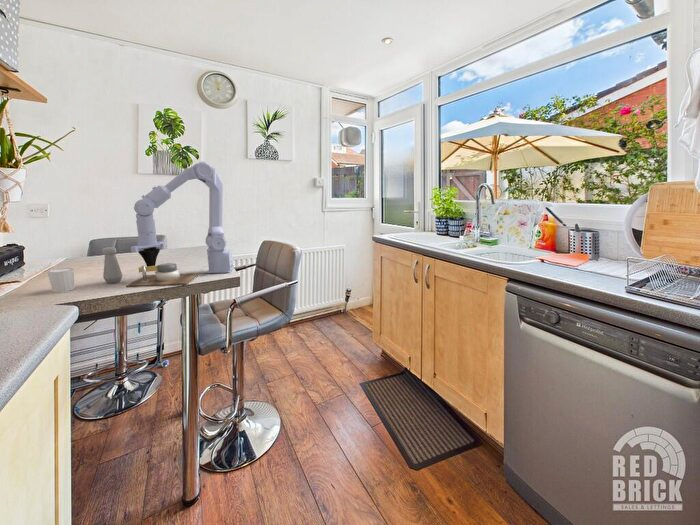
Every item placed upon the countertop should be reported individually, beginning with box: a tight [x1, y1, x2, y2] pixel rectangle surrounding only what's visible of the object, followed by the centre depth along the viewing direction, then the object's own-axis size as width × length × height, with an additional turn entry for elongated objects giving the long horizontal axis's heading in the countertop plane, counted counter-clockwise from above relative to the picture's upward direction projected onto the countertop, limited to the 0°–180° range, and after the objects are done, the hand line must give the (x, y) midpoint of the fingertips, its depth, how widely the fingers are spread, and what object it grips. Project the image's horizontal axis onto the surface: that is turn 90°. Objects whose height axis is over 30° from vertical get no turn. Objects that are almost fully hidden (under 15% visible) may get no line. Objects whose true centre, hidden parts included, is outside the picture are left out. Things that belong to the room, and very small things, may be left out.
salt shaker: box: [101, 246, 123, 284], centre depth 122 cm, size 6×6×13 cm
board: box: [125, 272, 201, 288], centre depth 126 cm, size 20×16×1 cm
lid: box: [138, 262, 178, 273], centre depth 124 cm, size 12×6×2 cm, turn 116°
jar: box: [154, 268, 181, 281], centre depth 126 cm, size 8×8×3 cm
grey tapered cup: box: [46, 267, 76, 293], centre depth 113 cm, size 7×7×7 cm
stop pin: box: [140, 265, 150, 283], centre depth 121 cm, size 3×3×6 cm
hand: (151, 268), depth 127 cm, fingers closed
